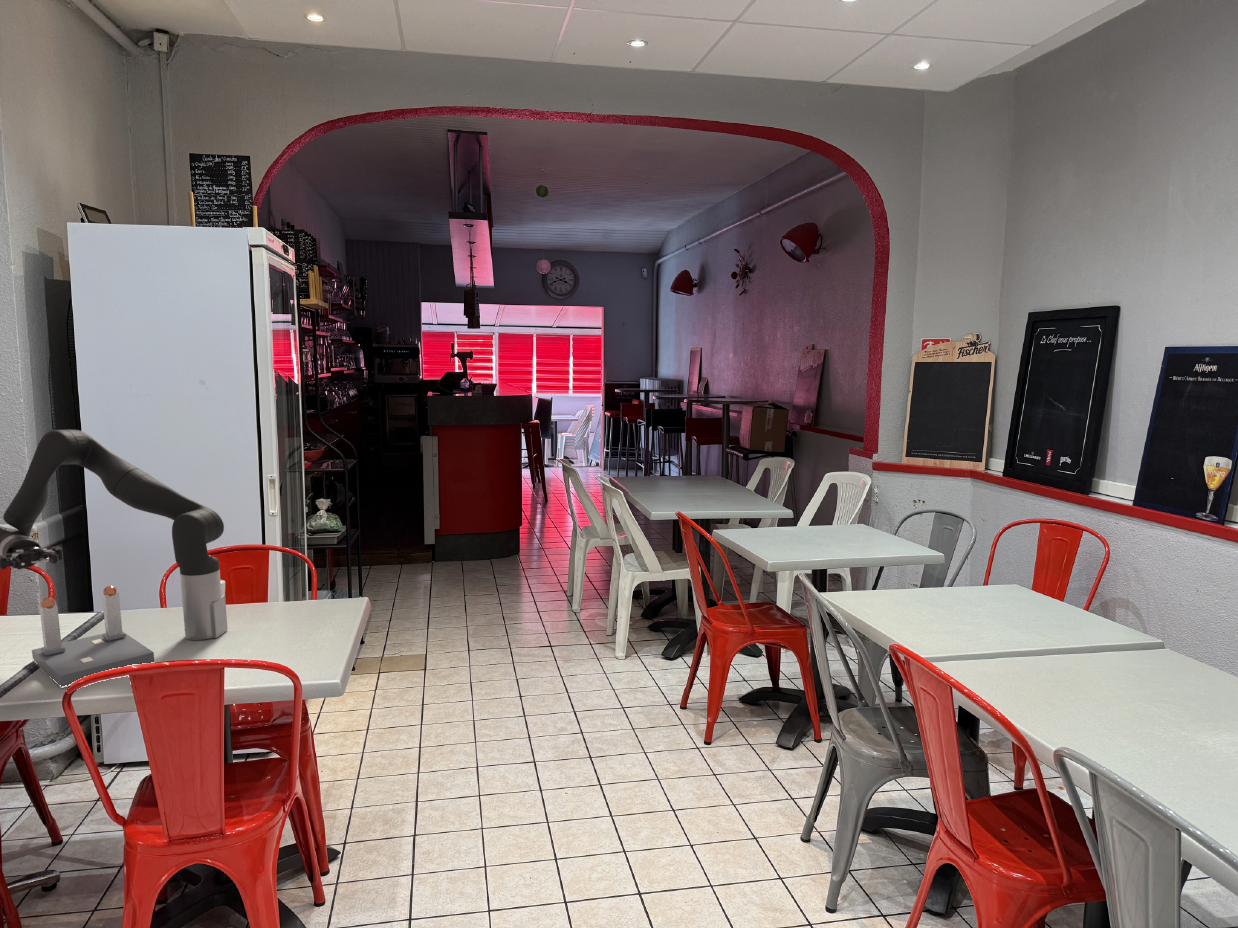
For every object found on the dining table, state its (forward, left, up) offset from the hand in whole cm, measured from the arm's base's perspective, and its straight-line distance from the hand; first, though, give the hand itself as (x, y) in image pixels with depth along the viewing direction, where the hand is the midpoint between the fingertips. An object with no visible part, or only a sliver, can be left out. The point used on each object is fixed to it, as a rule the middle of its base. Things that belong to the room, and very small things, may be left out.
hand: (37, 562), depth 196 cm
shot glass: (-20, -41, -24) cm, 52 cm away
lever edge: (-5, +4, -21) cm, 22 cm away
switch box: (-13, +3, -24) cm, 28 cm away
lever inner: (-13, -6, -21) cm, 25 cm away
